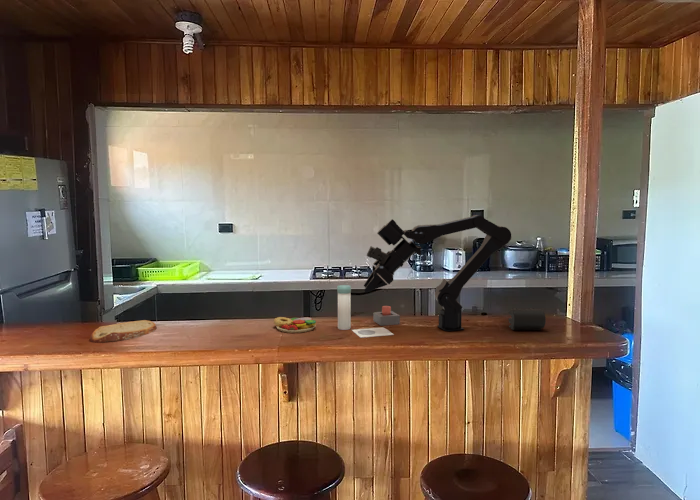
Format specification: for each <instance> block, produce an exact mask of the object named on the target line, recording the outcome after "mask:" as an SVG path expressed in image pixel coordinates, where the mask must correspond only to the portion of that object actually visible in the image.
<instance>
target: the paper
mask: <svg viewBox="0 0 700 500" xmlns="http://www.w3.org/2000/svg"><path fill="white" fill-rule="evenodd" d="M351 331H352V332H353V333H354V334H355V335H356V336H358V337H359V338H361V339H363V338H372V337H374V338H375V337H384V336H385V337H386V336H394V335H395V334H394V333H392V332H391V331H390V330H389V329H387V328H385V327H370V328H358V329H351Z"/></svg>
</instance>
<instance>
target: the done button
mask: <svg viewBox="0 0 700 500" xmlns="http://www.w3.org/2000/svg"><path fill="white" fill-rule="evenodd" d="M391 311H392V306H389V305H383V306H381V312H382V315H383V316H384V315H391Z"/></svg>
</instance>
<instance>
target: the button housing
mask: <svg viewBox="0 0 700 500" xmlns="http://www.w3.org/2000/svg"><path fill="white" fill-rule="evenodd" d="M372 315H373V318H372V319H373V320H372V321H373V322H374V323H376V324H377V325H379V326H393V325H401V317H400V316H401V315H400V314H398V313H396V312H394V311H393V310H391V315H384V316H383V315H382V311H376V312H373V313H372Z"/></svg>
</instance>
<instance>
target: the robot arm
mask: <svg viewBox="0 0 700 500" xmlns="http://www.w3.org/2000/svg"><path fill="white" fill-rule="evenodd" d="M472 229H473V230H474V229H477V230H479V231H481V232H482V233H484V234H485V237H484V239H483V241H482V243H481V245H480V247H479V248H478V249H477V250H476V251H475V252H474V254H473V255H471V257H470V258H469V259H468V260H467V262H465V263H464V265H463V266H462V267H461V268H460V270H458V272H456V274H455V275H454V276H453V277H452V278H450V279H449V280H447V279H445V278H443V280H442V281H441V283H440V284H439V285H438V286H436V287H435V288H436V290H435V292H434V298H435V300H436V302H437V303H438V304H439V306H441V309H439V314H438V324H437V327H438V328H439V329H441V330H443V331H445V332H452V331H453V332H454V331H465V329H464V327H462V315H463V313H462V311H463V310H462V309H463V306H462V305H461V304H460V302H459V301H458V298H459V296H460V294H461V291H462V289H463V287H464V286H465V285H466V284H467V283H468V282H469V281H470V279H472V277H473V276H474V275H475V274H476V273H477V272H478V270H480V268H481V267H482V266H483V265H484V264H485V262H486V261H487V260H488V259H489V258H490V257H491V256H492V255H493V254H495V253H497V252H498V251H499V250H501V249H502V248H504V246H506V245H507V244H509V242H510V241H511V240H512V233H511V230H510V229H509V228H508V227H507V226H501V225H497V224H496V223H493V222H492V221H490V220H488V219H487V218H485V217H484V216H482V215H480V214H473V215H472V216H468V217H464V218H460V219H455V220H452V221H451V220H450V221H447V222H442V223H439V224H422V225H421V224H418V225H415V226H414V227H413V228H412V229H405V230H403V229H402V228H401V227H400V226H399V225H398V224H397V222H396V221H395V220H394V219H393V218H392V219H390V220H389V221H388V222H386V224H385V225H383V226H382V227H380V229H379V230H378V231H377V232H376V234H377V235H378V236H379V237H380V238H381V239H382V240H383V241H384V242H385V243H386V244H387V245H388V246H391V245H392V246H395V247H393V249H392V250H388V251H387V252H384V251H382V248H380V247H378V246H376V247H374V246H372V245H371V246H370V247H369V248H368V251H367V252H366V257H368V258H370V259H374V260H375V261H374V262H373V264H372V270H371V271H372V272H371V274H370V275H369V276H368V278H367V280H366V281H365V282H364V284H363V287H364V289H363V292H364V293H367V294H368V293H369V292H372V291H374V290H377V289H379V288H382V287H385V286H388V285H390V284H392V283H393V282H394V276H395V273H396V272H397V271H398V269H400V268H402V267H403V266H404V265H405V263H406V262H407V261H408V260H409V259H410V258H411V257H412V256H413V255H414V254H417V255H418V257H419V256H422V247H421V246H417V245H416V243H417V244H418V245H424V244H427V243H430V242H431V241H434V240H436V239H438V238H439V237H443V236H447V235H451V234H454V233H460V232H463V231H467V230H472ZM403 235H404V236H405V237H406V238H407V239H409V240H410V241H409V242H408V240H406V238H405V237H404V236H403ZM412 240H413V241H414V242H413V241H412ZM396 244H397V245H396Z"/></svg>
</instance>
